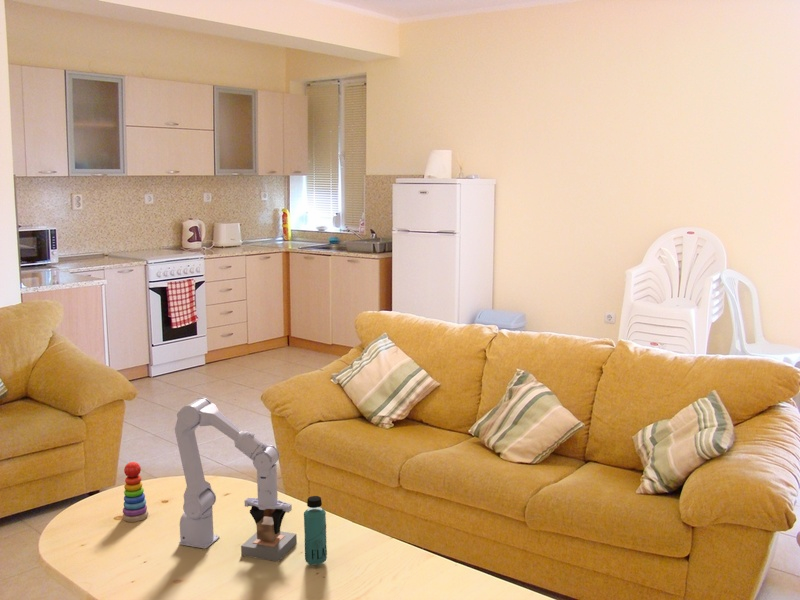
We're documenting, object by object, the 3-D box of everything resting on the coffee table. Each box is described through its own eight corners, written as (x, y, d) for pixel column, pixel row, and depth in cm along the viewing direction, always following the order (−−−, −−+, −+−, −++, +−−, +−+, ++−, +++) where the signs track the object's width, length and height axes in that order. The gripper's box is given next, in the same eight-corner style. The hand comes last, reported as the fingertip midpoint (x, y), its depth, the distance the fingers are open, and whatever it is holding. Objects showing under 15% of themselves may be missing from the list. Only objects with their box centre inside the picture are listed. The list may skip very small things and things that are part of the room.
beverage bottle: (309, 572, 214) (307, 504, 211) (301, 561, 220) (299, 495, 217) (331, 566, 217) (329, 499, 214) (322, 556, 223) (320, 491, 220)
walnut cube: (257, 539, 225) (256, 523, 224) (265, 531, 230) (264, 516, 229) (272, 541, 224) (271, 525, 223) (280, 534, 228) (279, 518, 228)
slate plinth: (241, 555, 224) (240, 545, 223) (261, 537, 235) (260, 527, 235) (278, 561, 220) (277, 551, 220) (296, 543, 231) (296, 533, 231)
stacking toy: (153, 516, 251) (150, 461, 248) (133, 525, 244) (130, 469, 241) (137, 510, 255) (134, 456, 252) (117, 519, 248) (113, 464, 245)
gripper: (238, 490, 223) (240, 533, 225) (283, 496, 219) (284, 540, 221) (250, 481, 230) (252, 523, 232) (294, 486, 225) (295, 530, 227)
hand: (268, 531), depth 227 cm, fingers closed on walnut cube, 5 cm apart
